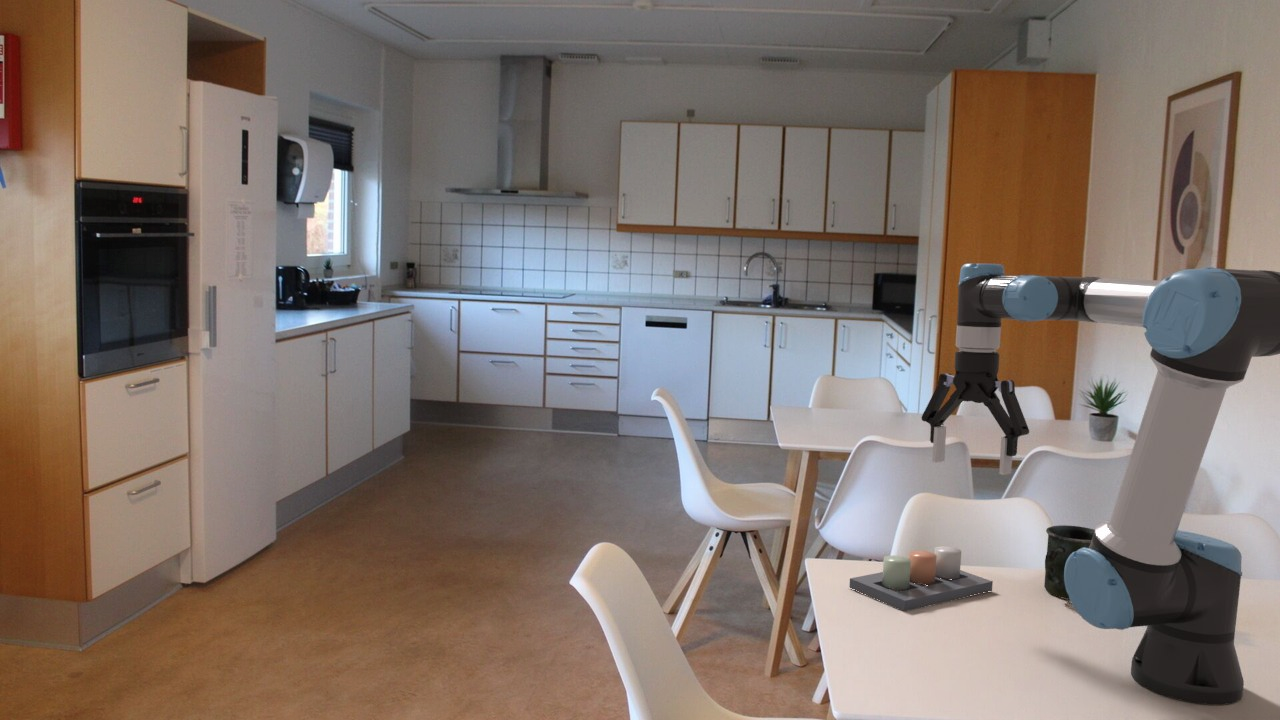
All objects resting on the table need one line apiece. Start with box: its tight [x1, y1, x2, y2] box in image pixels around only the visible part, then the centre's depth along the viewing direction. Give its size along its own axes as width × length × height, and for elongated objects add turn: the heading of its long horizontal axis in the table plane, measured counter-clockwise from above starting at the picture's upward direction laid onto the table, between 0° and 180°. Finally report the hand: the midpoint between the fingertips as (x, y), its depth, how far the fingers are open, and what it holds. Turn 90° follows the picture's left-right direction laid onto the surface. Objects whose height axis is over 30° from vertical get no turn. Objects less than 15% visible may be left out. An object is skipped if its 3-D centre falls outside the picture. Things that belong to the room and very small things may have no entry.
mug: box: [1043, 524, 1095, 600], centre depth 196 cm, size 11×15×12 cm
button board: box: [849, 569, 994, 612], centre depth 196 cm, size 14×24×2 cm, turn 122°
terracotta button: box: [909, 550, 937, 585], centre depth 196 cm, size 5×5×5 cm
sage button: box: [882, 555, 911, 591], centre depth 192 cm, size 5×5×5 cm
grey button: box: [934, 545, 962, 580], centre depth 199 cm, size 5×5×5 cm
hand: (970, 467), depth 184 cm, fingers open, 13 cm apart
